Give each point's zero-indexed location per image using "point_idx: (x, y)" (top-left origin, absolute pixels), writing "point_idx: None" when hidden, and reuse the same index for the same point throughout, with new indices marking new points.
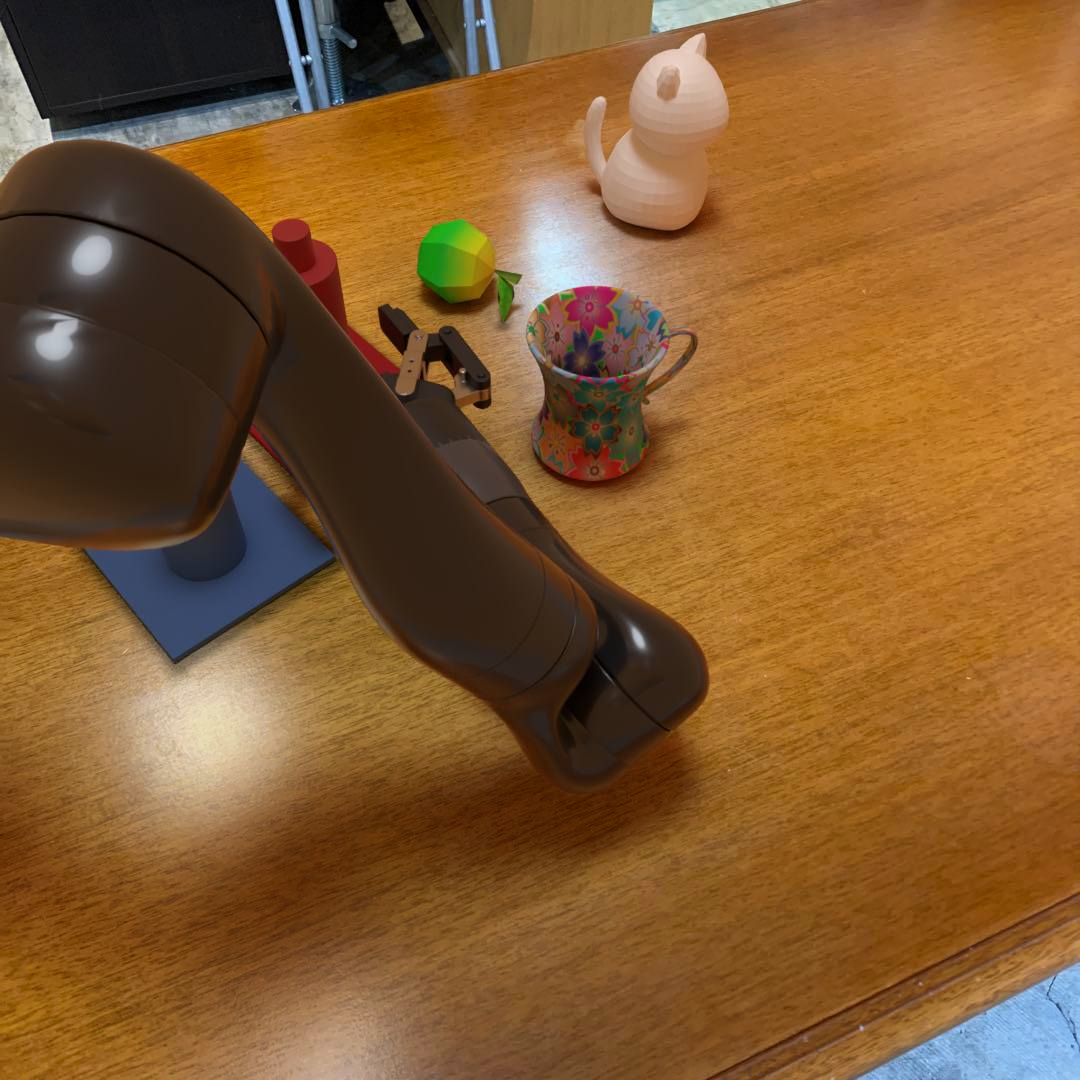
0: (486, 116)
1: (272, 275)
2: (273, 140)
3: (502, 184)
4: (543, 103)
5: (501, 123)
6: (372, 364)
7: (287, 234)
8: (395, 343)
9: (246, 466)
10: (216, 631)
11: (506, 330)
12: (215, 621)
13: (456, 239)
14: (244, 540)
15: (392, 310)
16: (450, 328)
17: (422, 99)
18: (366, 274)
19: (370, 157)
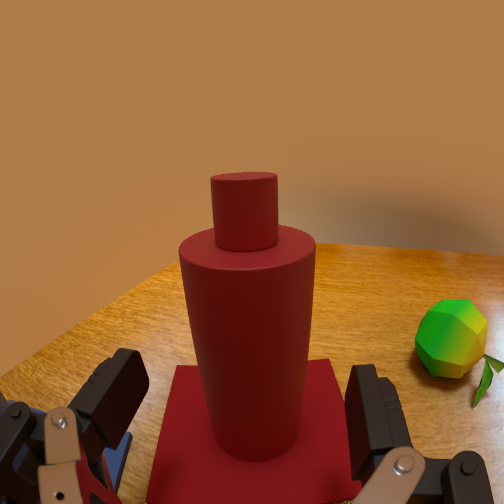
0: (465, 265)
1: None
2: (349, 248)
3: (476, 298)
4: (493, 267)
5: (473, 269)
6: (329, 417)
7: (231, 176)
8: (351, 441)
9: (123, 449)
10: None
11: (473, 417)
12: None
13: (463, 314)
14: (40, 502)
15: (375, 381)
16: (476, 462)
17: (433, 251)
18: (370, 329)
19: (399, 266)
